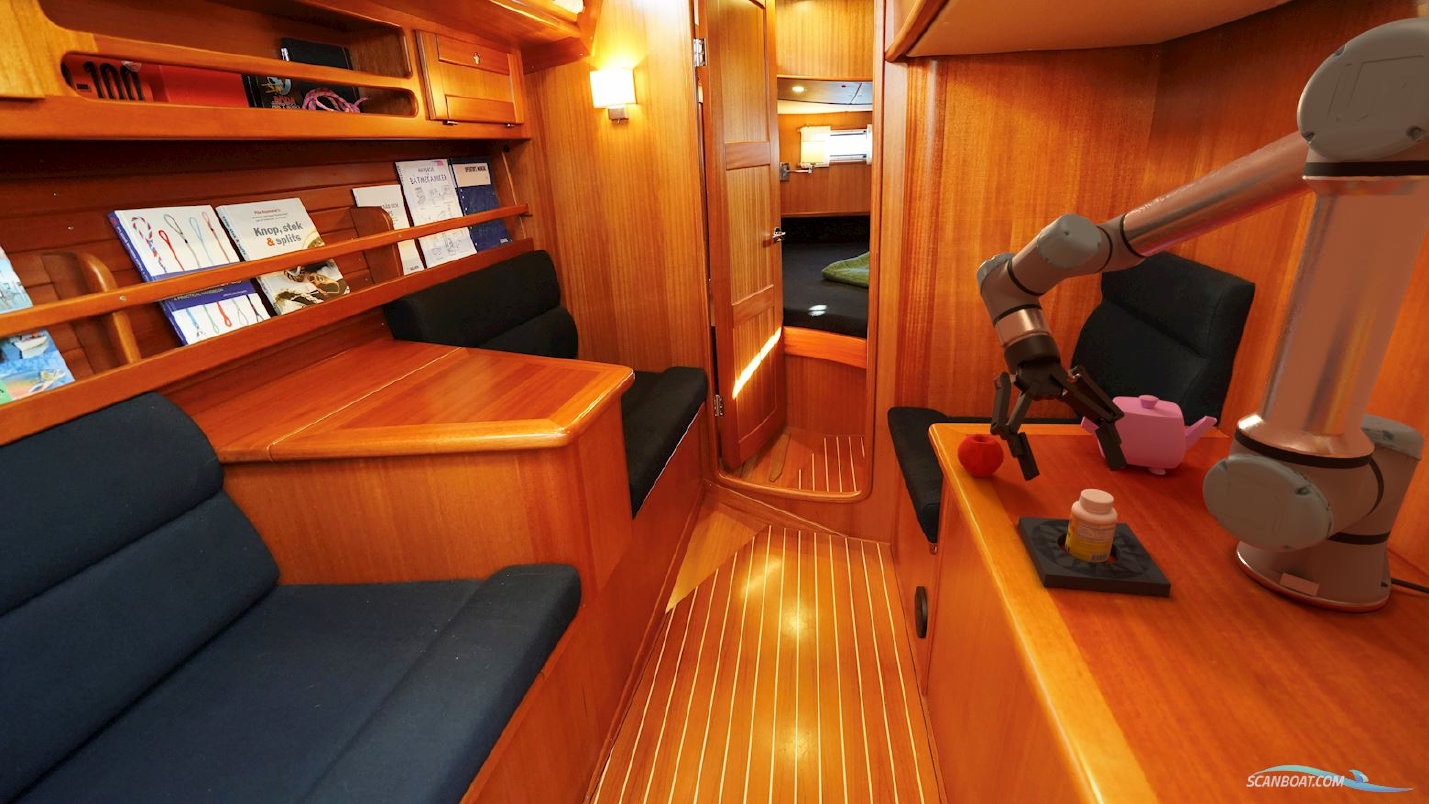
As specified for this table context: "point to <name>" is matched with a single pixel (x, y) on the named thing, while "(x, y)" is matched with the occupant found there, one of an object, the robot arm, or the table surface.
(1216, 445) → the table surface
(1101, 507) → the supplement bottle
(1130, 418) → the teapot
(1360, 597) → the robot arm
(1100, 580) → the pad board
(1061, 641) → the table surface
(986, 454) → the apple
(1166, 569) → the table surface
